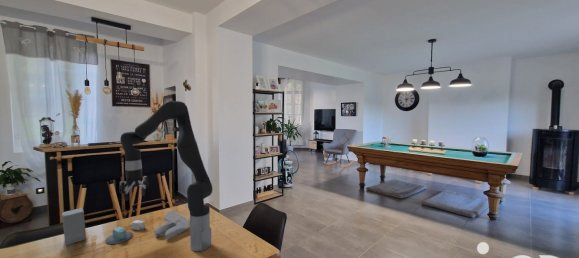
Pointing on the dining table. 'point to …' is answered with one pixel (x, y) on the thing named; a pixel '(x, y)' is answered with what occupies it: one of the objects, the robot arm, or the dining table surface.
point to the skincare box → (74, 226)
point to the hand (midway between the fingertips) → (135, 197)
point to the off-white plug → (138, 225)
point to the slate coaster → (114, 241)
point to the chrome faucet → (172, 225)
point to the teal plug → (119, 233)
